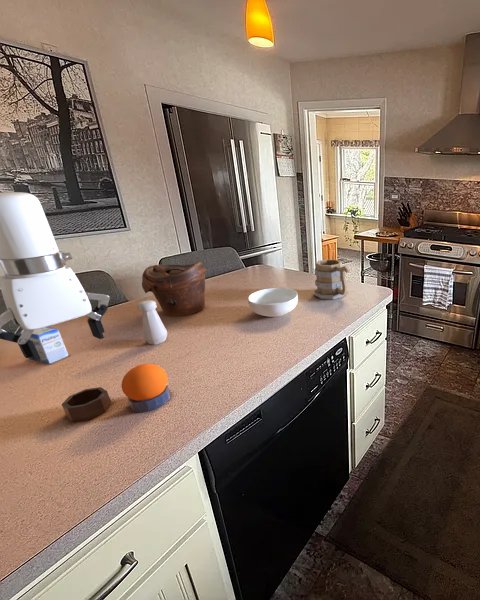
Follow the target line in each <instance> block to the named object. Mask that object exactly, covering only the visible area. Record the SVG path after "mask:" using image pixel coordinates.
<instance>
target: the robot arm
mask: <svg viewBox="0 0 480 600" xmlns="http://www.w3.org/2000/svg"><path fill="white" fill-rule="evenodd" d="M69 260H73V256H72V254H71V253H70V252H62V251H60V249H59V248H58V245H57V242H56V239H55V237H54V233H53V231H52V228H51V226H50V224H49V221H48V219H47V216H46V214H45V211H44V209H43V206H42V204H41V201H40V200H39V198H38V197H37V196H35V195H34V194H32V193H29V192H23V191H21V192H20V191H10V192H9V191H6V192H5V191H3V192H2V191H1V192H0V267H1V269H2V272H3V274H4V275H0V291H1V295H2V298H3V301H4V304H5V307H6V310H5V311H4V312H3V313H1V314H0V339H1V340H3V341H7V342H11V343H16V344H17V345H18V347H19V349H20V352H21V353H22V355H23V357H24V358H25V359H28V358H31V359H32V360H31V361H34V362H35V363H36V362H37V363H38V362H39V361H40V359H41V358H40V356H39V354H38V351H37V349H36V347H35V345H34V343H33V342H32V341H31V340H29V338H30V336H31V335H32V333H33V331H34V330H37V329H41V328H44V327H51V326H54V325H58V324H62V323H66V322H69V321H72V320H76V319H77V318H78V319H79V318H82V317H84V316H86V317H88V318H87V321H86V322H87V324H88V327H89V330H90V332H91V334H92V337H94V338H96V339H98V340H103V339H105V336H104V333H105V327H104V325H103V323H102V320H103V316H104V315H105V313H106V312H107V311H108V308H109V307H108V305H109V304H110V303H109V302H110V298H111V297H110V296H109V295H107V294H103V293H95V292H87V291H85V289H84V287H83V285H82V284H81V282H80V280H79V278H78V277H77V275H76V274H75V272H74V271H73V269H72V268H71V266H69V265H66V262H67V261H69ZM90 300H93V301H98V302H97V303H98V304H97V305H96V306H95V308H94V309H92V304H91V301H90ZM10 321H12V323H13V324H14V325H15V326H16V327H17V329H16V330H15V331H14V332H9V331H6V330H4V329H2V328H3V326H5V325H6V324H7V323H9V322H10Z"/></svg>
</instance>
